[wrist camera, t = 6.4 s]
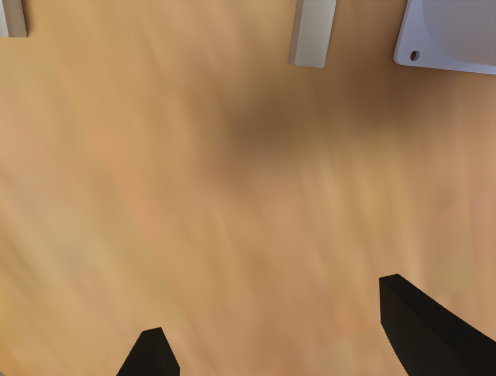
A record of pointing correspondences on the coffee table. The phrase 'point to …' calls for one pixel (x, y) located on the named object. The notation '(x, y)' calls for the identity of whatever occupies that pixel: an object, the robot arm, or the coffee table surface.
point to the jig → (302, 44)
